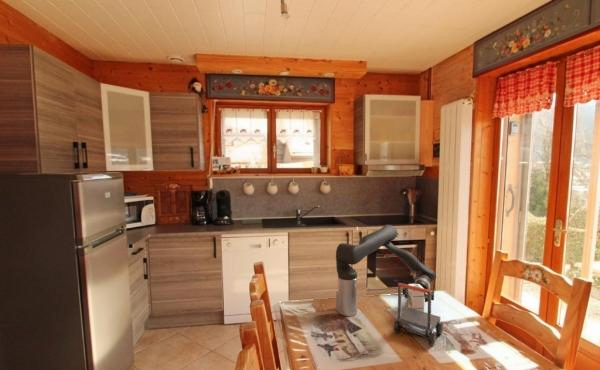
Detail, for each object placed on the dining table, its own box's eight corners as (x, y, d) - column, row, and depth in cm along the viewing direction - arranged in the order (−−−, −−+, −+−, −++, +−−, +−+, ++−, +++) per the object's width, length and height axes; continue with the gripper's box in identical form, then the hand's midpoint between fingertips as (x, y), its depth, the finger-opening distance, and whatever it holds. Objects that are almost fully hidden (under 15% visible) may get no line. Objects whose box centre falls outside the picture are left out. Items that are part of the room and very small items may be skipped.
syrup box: (424, 319, 137) (424, 288, 136) (411, 319, 137) (411, 288, 136) (419, 313, 142) (420, 283, 142) (407, 313, 142) (407, 283, 142)
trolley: (393, 333, 124) (393, 283, 123) (407, 320, 136) (407, 274, 135) (431, 347, 114) (432, 293, 113) (443, 331, 126) (443, 282, 125)
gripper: (407, 277, 157) (400, 287, 143) (436, 282, 149) (432, 293, 135) (407, 291, 157) (400, 302, 143) (436, 296, 150) (432, 309, 136)
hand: (415, 298), depth 139 cm, fingers open, 8 cm apart
